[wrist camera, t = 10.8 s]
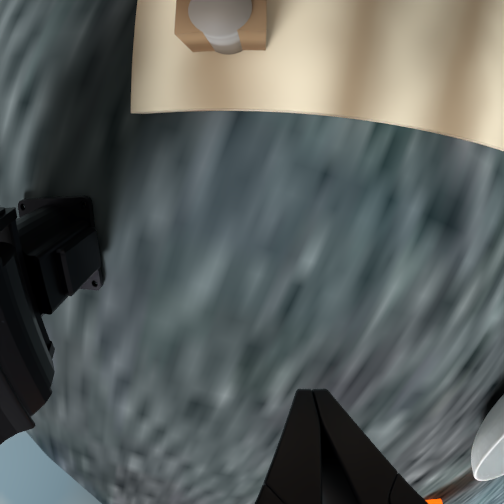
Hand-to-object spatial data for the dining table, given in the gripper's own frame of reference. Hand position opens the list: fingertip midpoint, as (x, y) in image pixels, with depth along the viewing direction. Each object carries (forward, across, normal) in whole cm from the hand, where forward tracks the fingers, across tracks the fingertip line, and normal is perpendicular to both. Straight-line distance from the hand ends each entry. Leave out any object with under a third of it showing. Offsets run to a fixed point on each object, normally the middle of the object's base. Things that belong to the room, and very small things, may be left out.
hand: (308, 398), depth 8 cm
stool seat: (+12, -3, -20) cm, 23 cm away
